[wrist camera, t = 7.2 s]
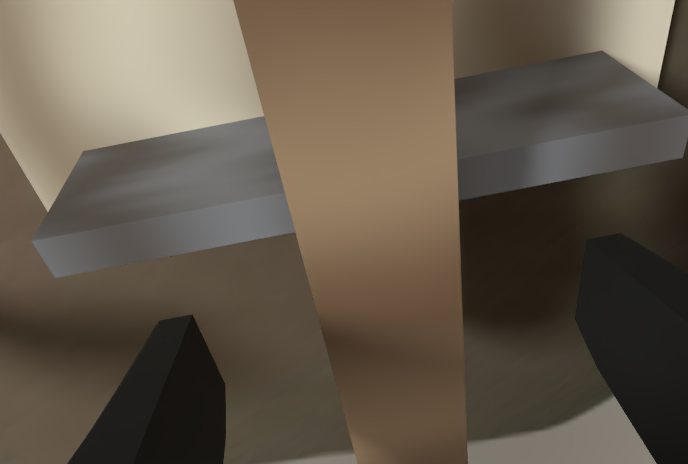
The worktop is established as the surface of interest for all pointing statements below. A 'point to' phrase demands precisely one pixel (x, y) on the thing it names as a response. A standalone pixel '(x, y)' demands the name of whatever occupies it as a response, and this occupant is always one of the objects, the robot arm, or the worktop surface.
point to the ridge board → (251, 129)
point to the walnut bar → (373, 206)
